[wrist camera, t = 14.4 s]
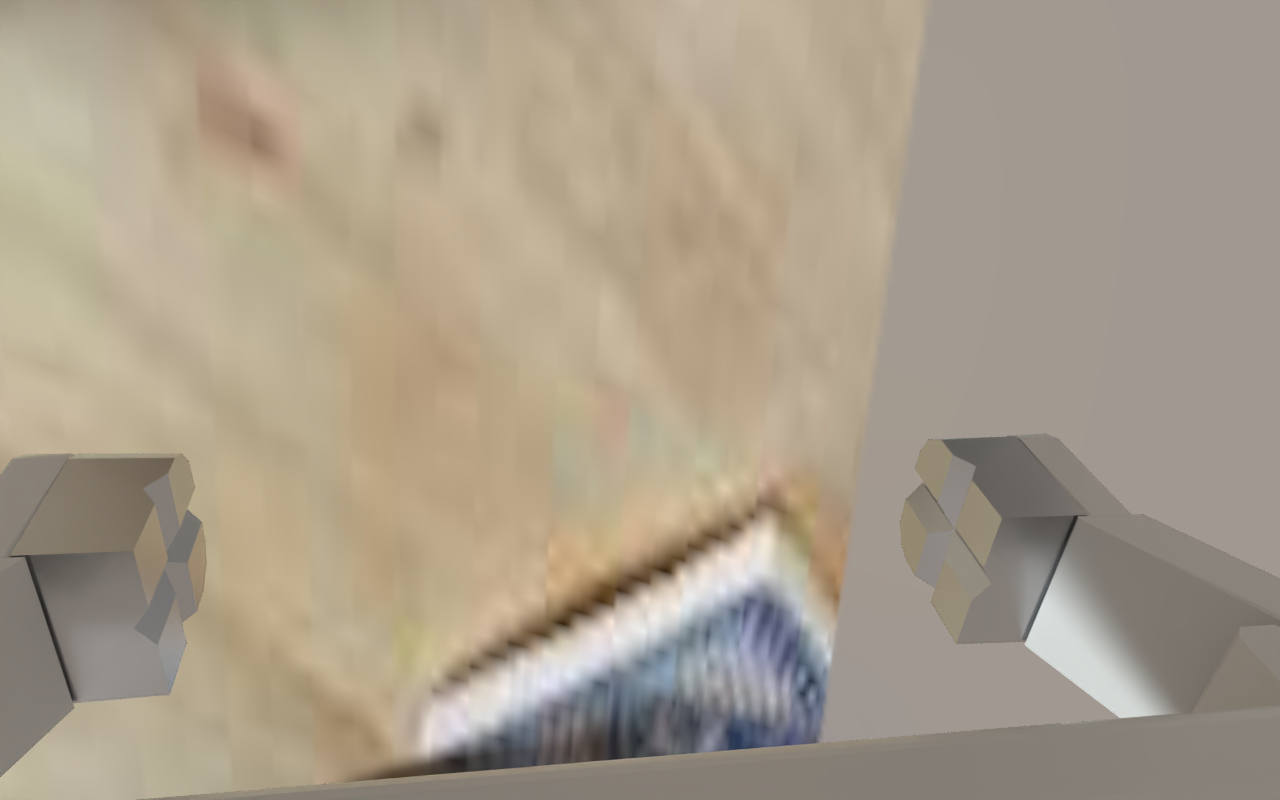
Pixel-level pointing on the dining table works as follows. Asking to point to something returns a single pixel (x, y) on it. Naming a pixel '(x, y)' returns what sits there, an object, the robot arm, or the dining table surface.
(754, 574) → the dining table surface
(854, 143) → the dining table surface
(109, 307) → the dining table surface
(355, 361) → the dining table surface
